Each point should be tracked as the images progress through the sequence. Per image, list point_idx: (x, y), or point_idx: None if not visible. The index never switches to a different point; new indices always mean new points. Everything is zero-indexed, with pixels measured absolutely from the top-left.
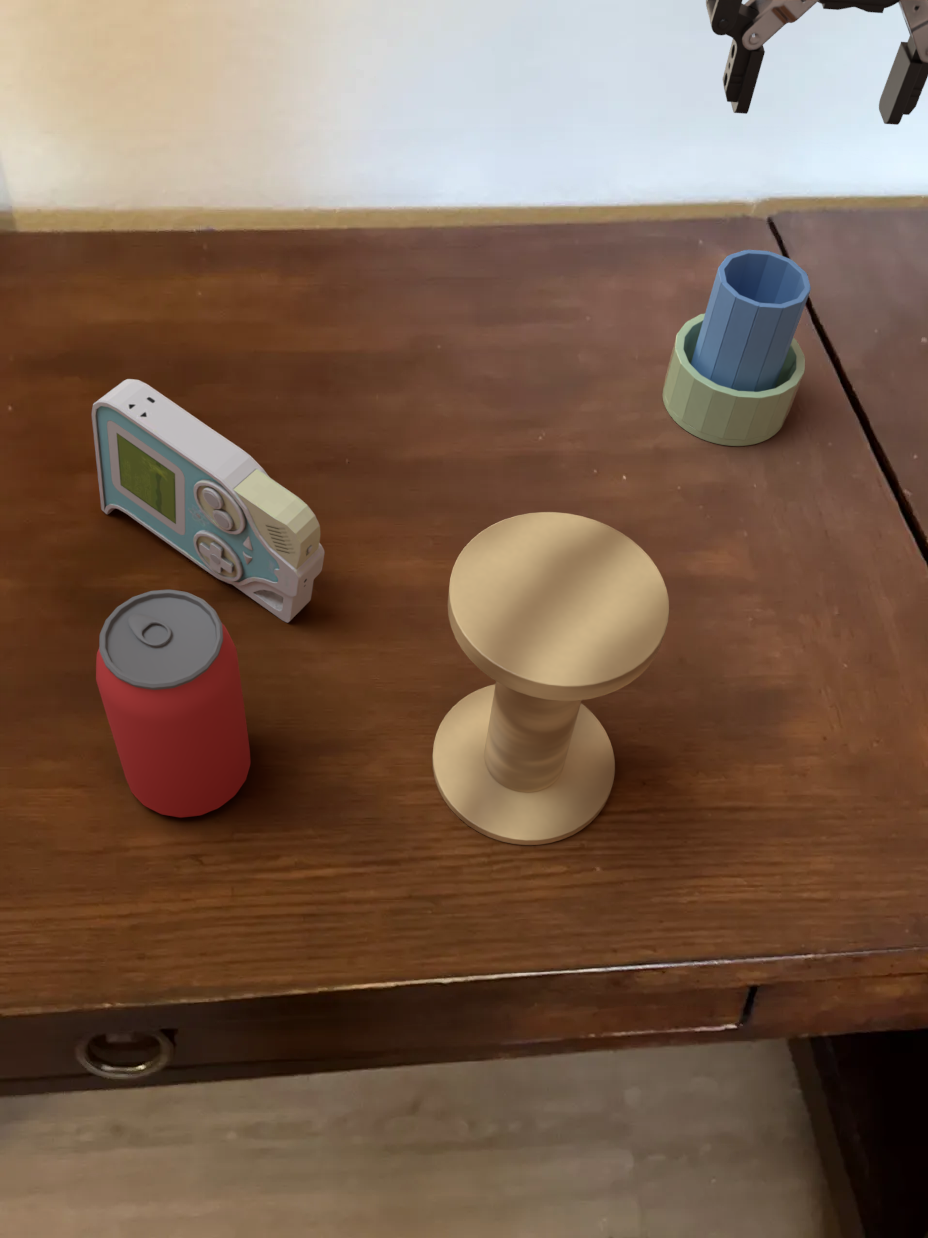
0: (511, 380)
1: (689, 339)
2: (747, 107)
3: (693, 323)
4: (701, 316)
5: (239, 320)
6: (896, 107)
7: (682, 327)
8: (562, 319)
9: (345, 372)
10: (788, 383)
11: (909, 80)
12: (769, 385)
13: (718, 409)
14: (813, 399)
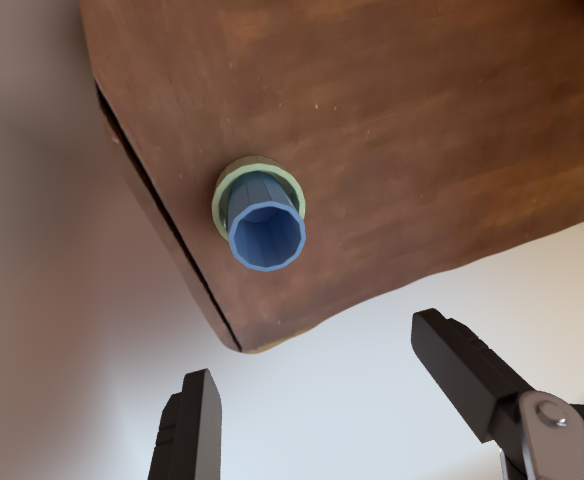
0: (383, 179)
1: None
2: (424, 316)
3: None
4: None
5: (519, 186)
6: (196, 394)
7: None
8: (354, 238)
9: (472, 160)
10: (222, 187)
11: (185, 451)
12: (234, 189)
13: (267, 161)
14: (197, 216)
